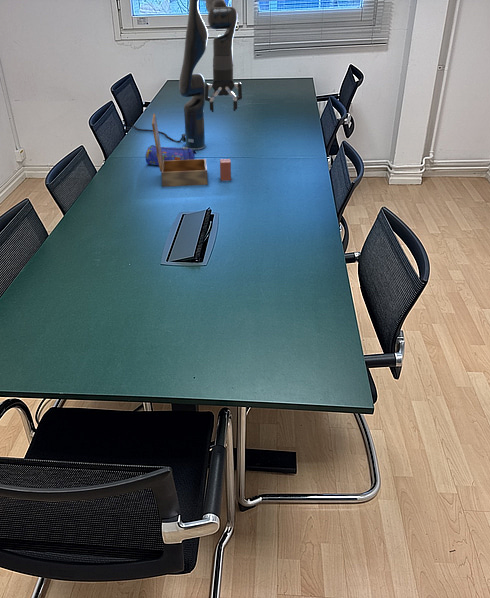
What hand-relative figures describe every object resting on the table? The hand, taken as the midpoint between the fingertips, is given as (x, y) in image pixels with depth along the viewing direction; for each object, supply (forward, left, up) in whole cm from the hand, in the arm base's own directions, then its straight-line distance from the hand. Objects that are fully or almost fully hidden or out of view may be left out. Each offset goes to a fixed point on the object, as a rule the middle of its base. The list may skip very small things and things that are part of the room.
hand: (223, 111), depth 214 cm
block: (0, +1, -29) cm, 29 cm away
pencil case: (-26, -12, -29) cm, 41 cm away
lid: (-12, -23, -12) cm, 29 cm away
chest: (-8, -14, -29) cm, 33 cm away
